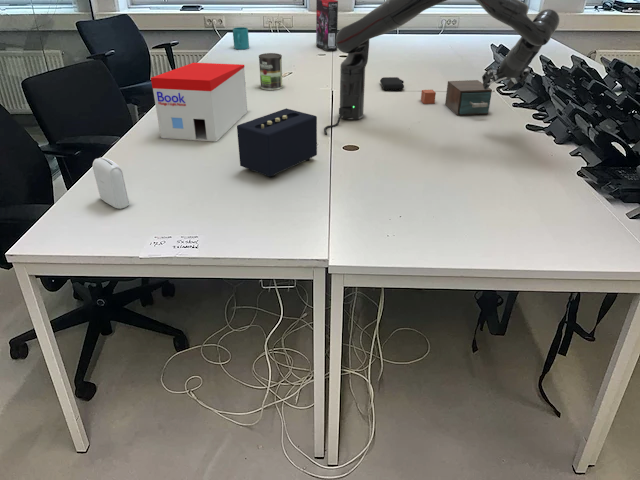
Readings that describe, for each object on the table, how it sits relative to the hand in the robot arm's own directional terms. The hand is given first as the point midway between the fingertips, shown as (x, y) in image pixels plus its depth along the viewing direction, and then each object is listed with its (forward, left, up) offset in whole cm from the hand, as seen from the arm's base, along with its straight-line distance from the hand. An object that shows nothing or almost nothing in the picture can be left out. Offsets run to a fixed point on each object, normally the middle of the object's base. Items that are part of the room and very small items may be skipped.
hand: (496, 86), depth 185 cm
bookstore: (-8, +104, -15) cm, 106 cm away
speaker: (-43, +69, -15) cm, 83 cm away
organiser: (+23, +6, -15) cm, 29 cm away
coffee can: (+46, +91, -15) cm, 103 cm away
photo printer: (-74, +108, -15) cm, 132 cm away
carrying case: (+53, +36, -15) cm, 66 cm away
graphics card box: (+135, +77, -15) cm, 157 cm away
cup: (+129, +128, -15) cm, 183 cm away
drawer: (+19, +5, -14) cm, 25 cm away
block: (+31, +21, -15) cm, 41 cm away
